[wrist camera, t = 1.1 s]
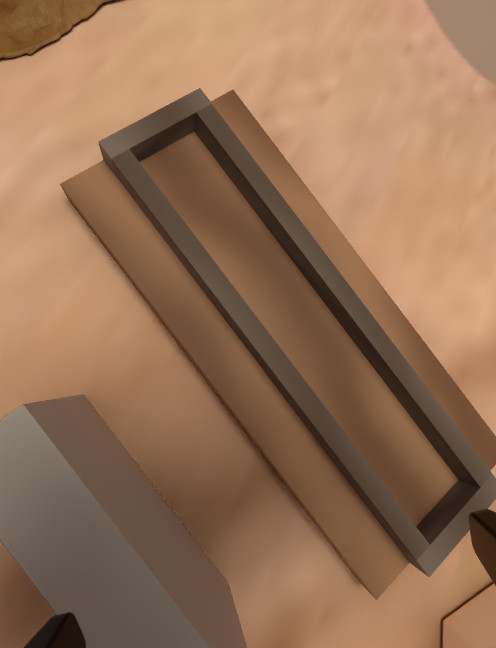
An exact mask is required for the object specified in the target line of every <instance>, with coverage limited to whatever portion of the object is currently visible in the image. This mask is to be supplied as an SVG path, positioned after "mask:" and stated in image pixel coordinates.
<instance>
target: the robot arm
mask: <svg viewBox="0 0 496 648" xmlns="http://www.w3.org/2000/svg"><path fill="white" fill-rule="evenodd" d="M468 519H469V526H470V533H471V540H472V545H473V548H474V551H475V553H476V555H477V557H478V558H479V560H480V561H481V563H482V565H483V566H484V568H485V570H486V571H487V573H488V574H489V576H490V578H491V579H492V581H493V583H494V584H495V586H496V512H494V511H492V510H489V509H483V510H479V511H475V512H471V513H470V514H469V516H468ZM24 648H86V641H85V637H84V635H83V633H82V630H81V628H80V626H79V624H78V621H77V619H76V617H75V615H74V614H73V613H72V612H67V613H63V614H59V615H55V616H53V617H52V618H51V619H50V620H49V621H48V622H47V623H46V624H45V625H44V626H43V627H42V628H41V629H40V630H39V631H38V632H37V634H36V635H35V636H34V637H33V638H32V639H31V640H30V641H29V642H28V643H27V644H26V646H25V647H24Z"/></svg>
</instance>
